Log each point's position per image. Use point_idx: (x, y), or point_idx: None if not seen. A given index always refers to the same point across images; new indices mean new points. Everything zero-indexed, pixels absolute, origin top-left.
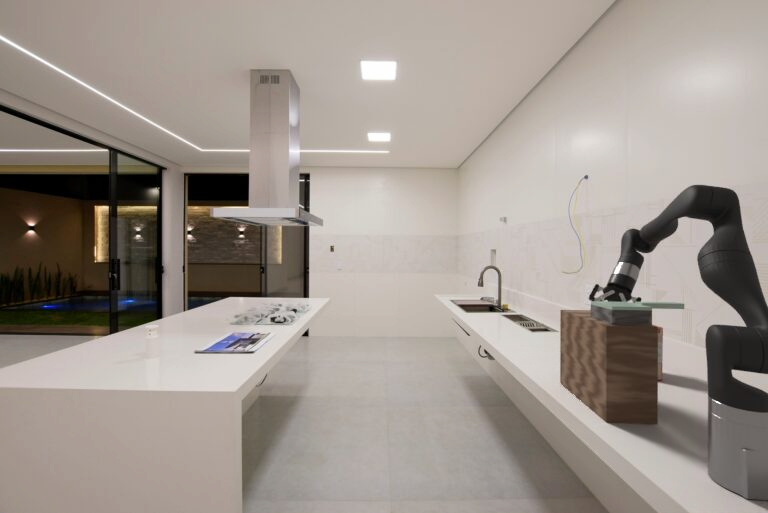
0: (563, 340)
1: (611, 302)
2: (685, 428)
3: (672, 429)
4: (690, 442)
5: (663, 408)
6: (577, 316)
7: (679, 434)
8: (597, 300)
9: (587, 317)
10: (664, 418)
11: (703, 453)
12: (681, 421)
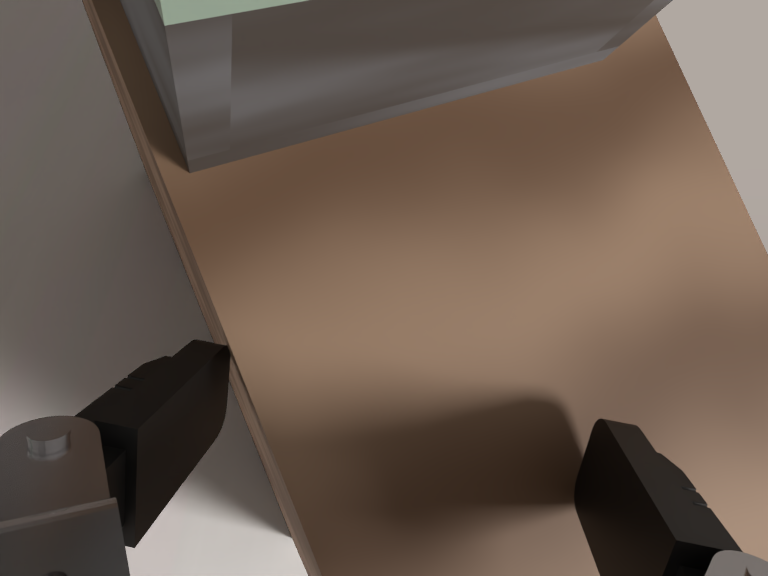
0: None
1: None
2: (41, 174)
3: (100, 147)
4: (76, 66)
5: (51, 359)
6: (709, 152)
7: (90, 114)
8: (728, 573)
9: (631, 61)
10: (92, 241)
11: (67, 5)
12: (27, 238)
